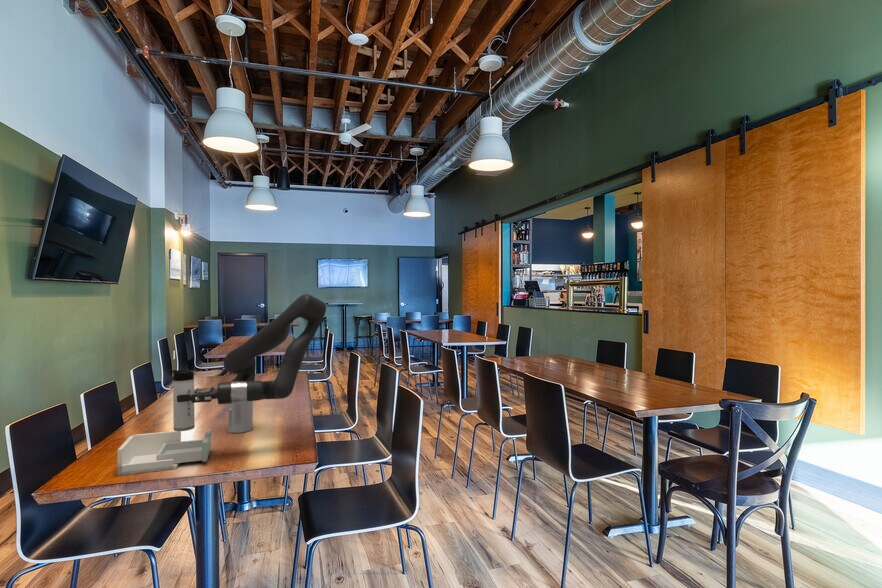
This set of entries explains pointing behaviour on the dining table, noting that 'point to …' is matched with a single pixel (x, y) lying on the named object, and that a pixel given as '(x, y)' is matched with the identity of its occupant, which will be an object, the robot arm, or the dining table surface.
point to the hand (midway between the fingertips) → (178, 396)
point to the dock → (145, 453)
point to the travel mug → (183, 410)
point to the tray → (186, 450)
